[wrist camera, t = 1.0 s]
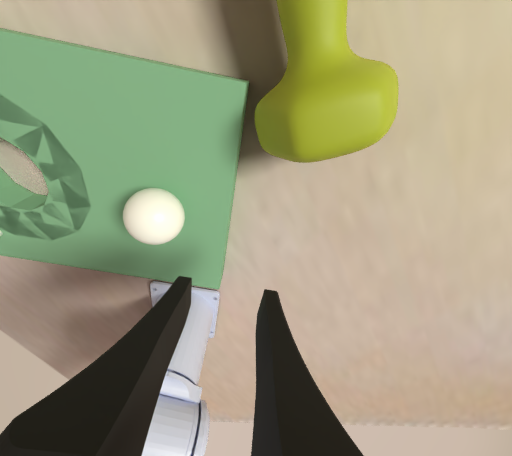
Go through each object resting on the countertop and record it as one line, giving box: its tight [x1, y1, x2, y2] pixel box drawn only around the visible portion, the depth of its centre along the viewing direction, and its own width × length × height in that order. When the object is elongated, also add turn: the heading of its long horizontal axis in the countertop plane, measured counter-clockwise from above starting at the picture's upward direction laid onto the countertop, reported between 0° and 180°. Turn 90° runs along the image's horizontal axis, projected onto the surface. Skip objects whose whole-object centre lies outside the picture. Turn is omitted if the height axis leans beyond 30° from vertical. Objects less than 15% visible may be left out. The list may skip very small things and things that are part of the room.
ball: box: [123, 188, 185, 245], centre depth 17 cm, size 4×4×4 cm
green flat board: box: [0, 28, 249, 289], centre depth 19 cm, size 18×23×2 cm
